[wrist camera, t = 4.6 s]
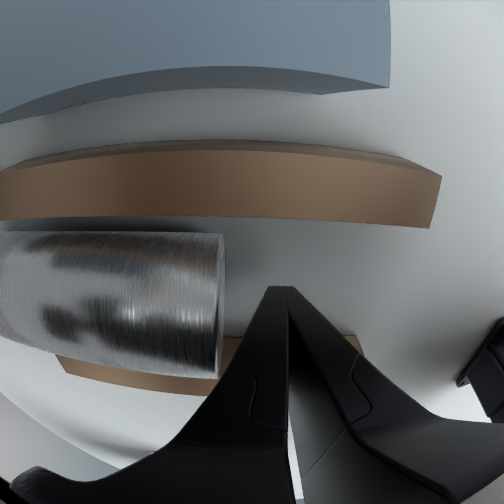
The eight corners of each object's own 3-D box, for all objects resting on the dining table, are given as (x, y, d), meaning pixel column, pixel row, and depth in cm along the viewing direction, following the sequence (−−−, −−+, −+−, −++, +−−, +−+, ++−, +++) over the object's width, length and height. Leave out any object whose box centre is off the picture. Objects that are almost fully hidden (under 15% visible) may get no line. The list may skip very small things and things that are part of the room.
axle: (225, 221, 9) (211, 260, 5) (224, 329, 10) (216, 409, 6) (7, 222, 9) (-56, 247, 5) (23, 304, 10) (-27, 345, 6)
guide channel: (405, 159, 7) (442, 176, 6) (347, 357, 12) (357, 391, 10) (25, 160, 7) (-11, 176, 5) (81, 342, 11) (66, 372, 10)
